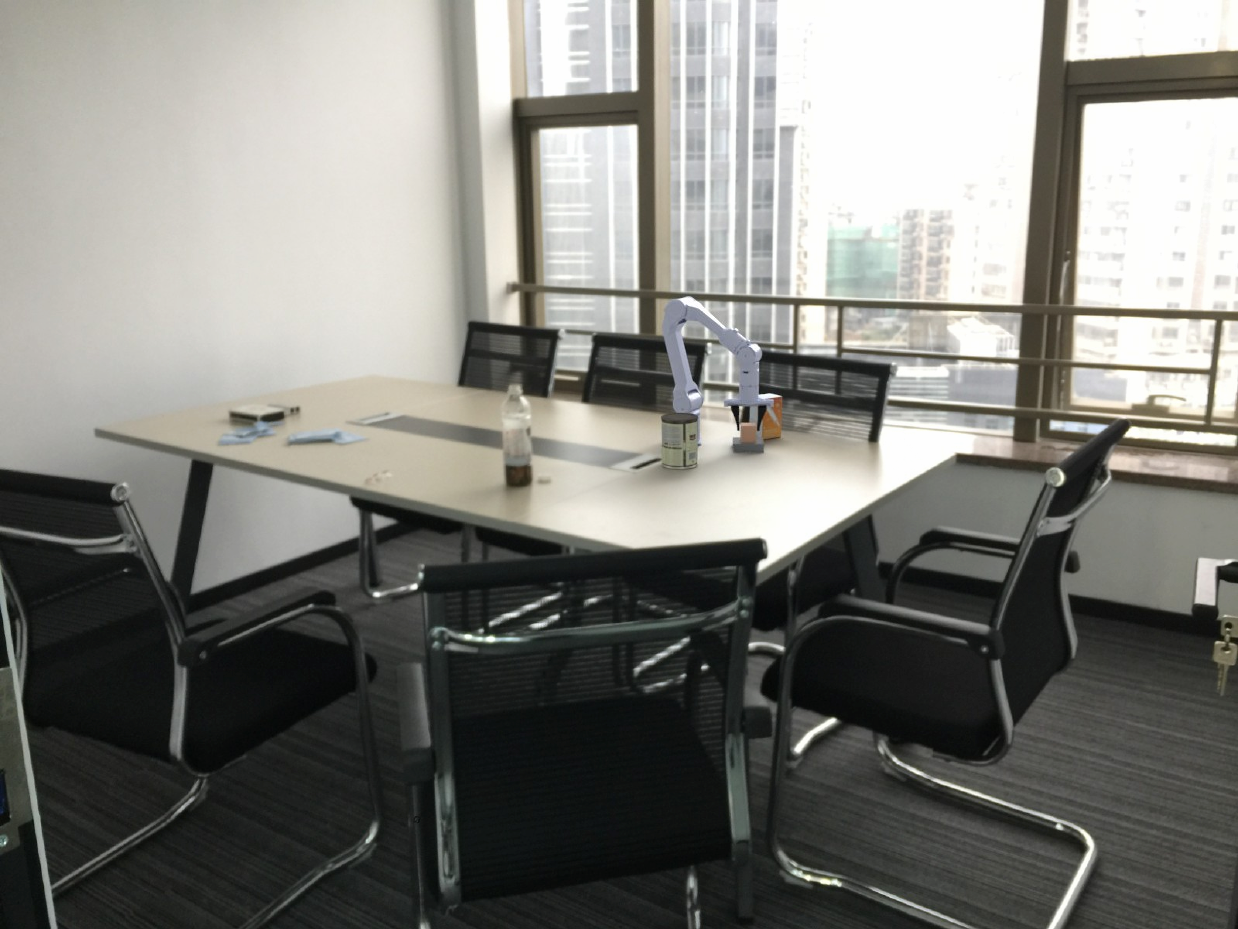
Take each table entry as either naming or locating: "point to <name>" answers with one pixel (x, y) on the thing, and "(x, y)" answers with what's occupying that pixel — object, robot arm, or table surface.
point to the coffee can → (679, 440)
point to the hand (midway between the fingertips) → (748, 430)
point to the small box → (769, 417)
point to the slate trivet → (748, 445)
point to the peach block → (748, 432)
